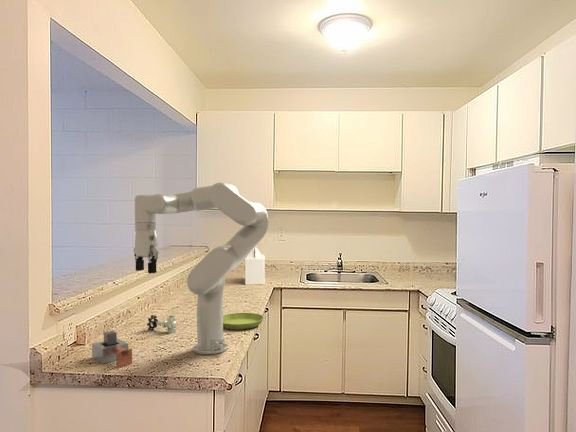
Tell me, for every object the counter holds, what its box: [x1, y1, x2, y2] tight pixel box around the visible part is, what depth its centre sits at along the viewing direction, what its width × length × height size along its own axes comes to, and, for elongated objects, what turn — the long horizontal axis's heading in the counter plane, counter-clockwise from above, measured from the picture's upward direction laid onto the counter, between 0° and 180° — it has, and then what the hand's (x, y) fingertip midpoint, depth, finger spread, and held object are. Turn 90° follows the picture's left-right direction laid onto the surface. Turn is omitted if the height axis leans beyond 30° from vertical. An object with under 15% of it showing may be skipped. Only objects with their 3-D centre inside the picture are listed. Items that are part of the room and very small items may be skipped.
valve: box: [146, 314, 178, 334], centre depth 190 cm, size 7×7×12 cm
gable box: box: [244, 244, 266, 285], centre depth 312 cm, size 22×13×28 cm, turn 3°
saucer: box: [223, 312, 265, 330], centre depth 201 cm, size 21×21×3 cm
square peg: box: [103, 330, 118, 347], centre depth 157 cm, size 3×3×9 cm
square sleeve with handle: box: [91, 338, 133, 368], centre depth 155 cm, size 16×9×5 cm, turn 45°
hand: (145, 271), depth 171 cm, fingers open, 9 cm apart
